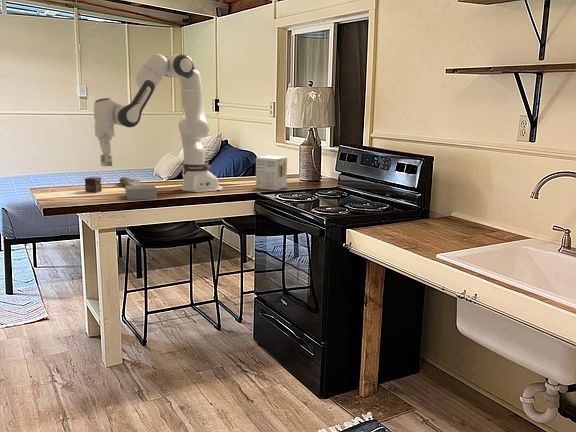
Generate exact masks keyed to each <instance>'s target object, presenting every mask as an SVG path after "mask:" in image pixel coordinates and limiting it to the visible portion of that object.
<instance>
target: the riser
mask: <svg viewBox="0 0 576 432" xmlns="http://www.w3.org/2000/svg"><path fill="white" fill-rule="evenodd" d="M124 187H125V197H126V199H127V201H132V200H151V199H152V200H154V199H157V200H158V188H157V187H156V185H155V184H145V185H135V186H124Z"/></svg>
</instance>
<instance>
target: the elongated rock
mask: <svg viewBox="0 0 576 432" xmlns="http://www.w3.org/2000/svg"><path fill="white" fill-rule="evenodd" d="M118 182H119V183H120V184H121V185H122V186H123V187H125V186H135V185H146V184H144V183H142V182H141V181H140V180H139V179H136V178H129V177H126V176H121V177H120V178H119V181H118Z"/></svg>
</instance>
